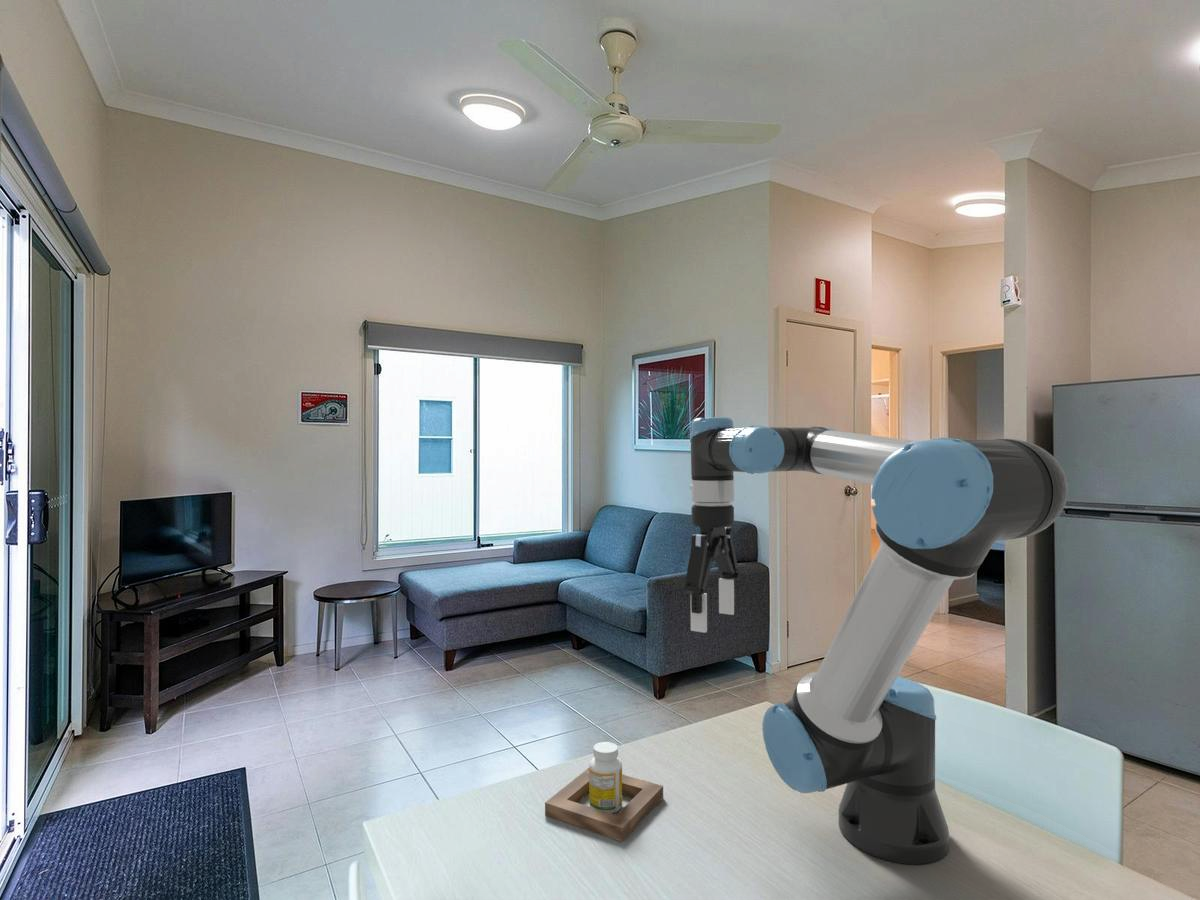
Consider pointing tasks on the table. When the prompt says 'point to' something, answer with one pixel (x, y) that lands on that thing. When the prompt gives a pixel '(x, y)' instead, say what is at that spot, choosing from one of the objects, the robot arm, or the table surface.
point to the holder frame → (599, 821)
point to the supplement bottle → (605, 778)
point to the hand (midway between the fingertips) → (713, 622)
